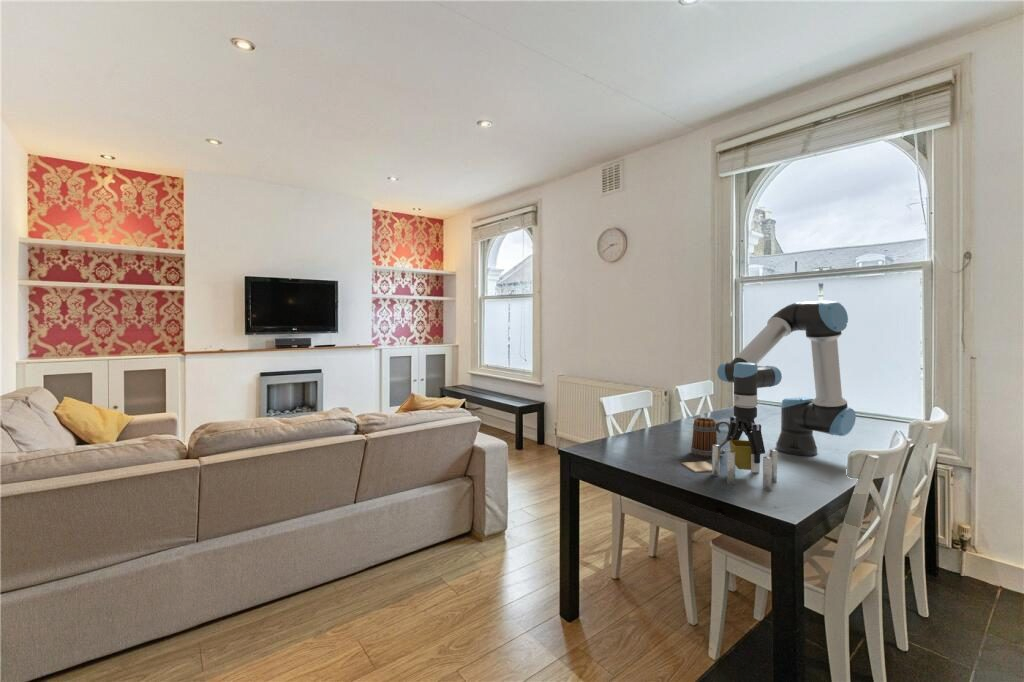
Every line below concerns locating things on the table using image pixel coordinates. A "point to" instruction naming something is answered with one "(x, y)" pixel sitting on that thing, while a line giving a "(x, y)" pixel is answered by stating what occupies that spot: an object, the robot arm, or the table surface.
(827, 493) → the table surface
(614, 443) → the table surface
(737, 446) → the flower pot
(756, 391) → the robot arm
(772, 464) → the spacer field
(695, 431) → the mug
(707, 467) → the cork mat
